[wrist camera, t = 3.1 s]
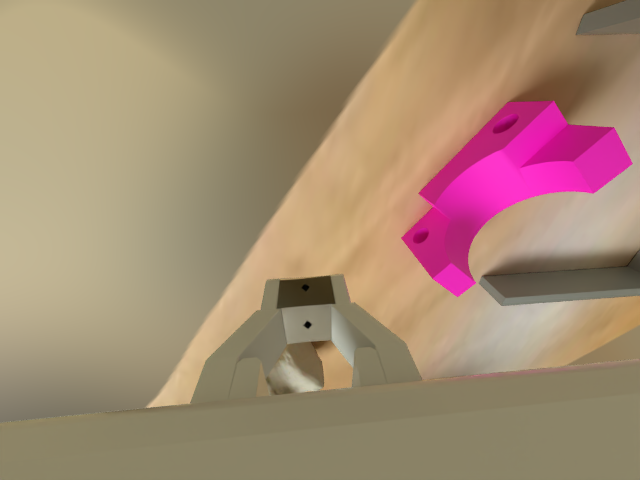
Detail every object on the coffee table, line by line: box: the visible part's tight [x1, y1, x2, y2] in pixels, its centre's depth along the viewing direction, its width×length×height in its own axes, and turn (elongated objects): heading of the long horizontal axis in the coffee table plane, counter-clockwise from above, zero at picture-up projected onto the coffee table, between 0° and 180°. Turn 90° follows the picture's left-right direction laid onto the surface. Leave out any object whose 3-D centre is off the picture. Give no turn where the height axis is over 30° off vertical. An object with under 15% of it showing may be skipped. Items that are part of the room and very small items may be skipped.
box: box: [479, 0, 640, 306], centre depth 23 cm, size 26×21×4 cm
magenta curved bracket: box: [401, 101, 633, 297], centre depth 21 cm, size 15×6×8 cm, turn 142°
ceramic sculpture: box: [266, 342, 324, 396], centre depth 32 cm, size 11×9×15 cm
